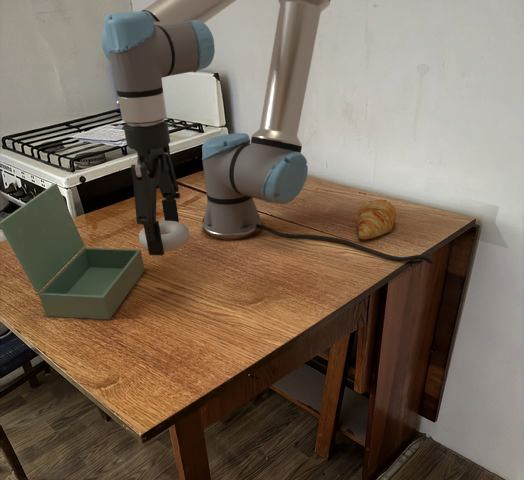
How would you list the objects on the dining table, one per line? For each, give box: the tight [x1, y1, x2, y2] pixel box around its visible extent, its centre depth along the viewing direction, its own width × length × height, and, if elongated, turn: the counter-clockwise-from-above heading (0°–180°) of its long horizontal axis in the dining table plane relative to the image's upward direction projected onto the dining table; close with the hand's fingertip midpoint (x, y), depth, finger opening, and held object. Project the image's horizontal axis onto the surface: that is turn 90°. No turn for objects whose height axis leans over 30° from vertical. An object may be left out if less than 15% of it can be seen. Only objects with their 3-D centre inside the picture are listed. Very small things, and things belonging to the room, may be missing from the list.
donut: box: [138, 220, 191, 253], centre depth 98 cm, size 10×4×10 cm
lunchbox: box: [38, 247, 146, 321], centre depth 107 cm, size 14×21×5 cm, turn 171°
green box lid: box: [0, 183, 86, 293], centre depth 102 cm, size 14×21×1 cm
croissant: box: [355, 199, 397, 240], centre depth 127 cm, size 21×10×8 cm, turn 153°
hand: (165, 242), depth 98 cm, fingers closed on donut, 10 cm apart
